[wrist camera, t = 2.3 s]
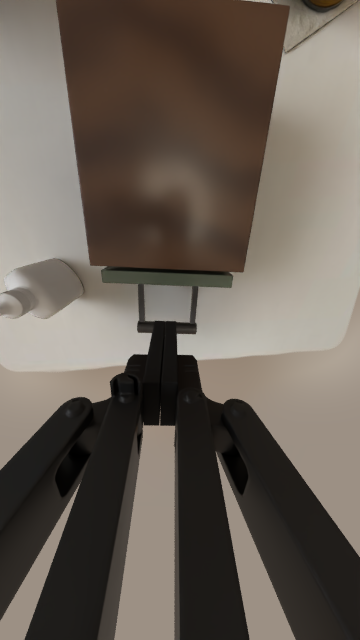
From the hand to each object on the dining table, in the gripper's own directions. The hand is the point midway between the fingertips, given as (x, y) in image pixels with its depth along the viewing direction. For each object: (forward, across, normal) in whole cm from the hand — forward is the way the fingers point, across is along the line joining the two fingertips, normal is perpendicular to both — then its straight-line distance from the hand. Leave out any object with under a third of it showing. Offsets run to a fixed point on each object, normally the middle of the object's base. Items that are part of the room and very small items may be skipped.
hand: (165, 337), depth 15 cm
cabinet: (+14, 0, +12) cm, 19 cm away
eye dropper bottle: (+15, -14, 0) cm, 20 cm away
